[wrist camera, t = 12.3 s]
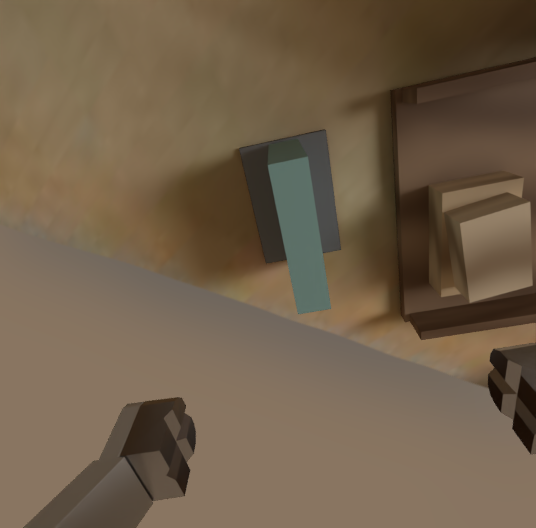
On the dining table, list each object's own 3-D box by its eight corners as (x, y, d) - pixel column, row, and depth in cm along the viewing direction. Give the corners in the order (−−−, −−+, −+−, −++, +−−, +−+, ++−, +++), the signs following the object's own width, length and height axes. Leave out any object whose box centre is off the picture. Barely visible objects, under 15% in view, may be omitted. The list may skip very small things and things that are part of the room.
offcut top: (443, 212, 23) (459, 223, 21) (507, 192, 22) (530, 201, 20) (454, 286, 25) (469, 302, 23) (511, 270, 25) (532, 285, 23)
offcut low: (428, 185, 24) (442, 193, 22) (503, 170, 24) (524, 177, 22) (428, 282, 28) (441, 297, 26) (494, 271, 27) (511, 285, 25)
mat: (239, 148, 24) (239, 149, 24) (324, 129, 24) (325, 130, 23) (266, 261, 28) (266, 263, 28) (340, 247, 28) (340, 249, 27)
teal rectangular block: (268, 144, 24) (267, 165, 17) (297, 138, 24) (307, 156, 17) (291, 260, 28) (298, 314, 21) (316, 255, 27) (331, 308, 21)
